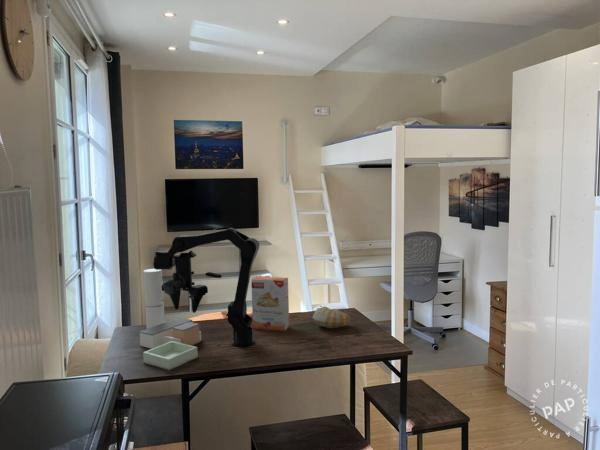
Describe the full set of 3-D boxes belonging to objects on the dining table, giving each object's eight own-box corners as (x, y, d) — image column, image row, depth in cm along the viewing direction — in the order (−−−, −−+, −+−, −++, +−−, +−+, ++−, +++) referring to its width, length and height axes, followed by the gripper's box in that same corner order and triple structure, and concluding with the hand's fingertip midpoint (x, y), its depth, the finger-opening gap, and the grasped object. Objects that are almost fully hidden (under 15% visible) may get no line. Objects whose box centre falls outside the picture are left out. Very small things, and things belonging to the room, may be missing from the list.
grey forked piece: (140, 345, 173) (139, 331, 173) (180, 330, 190) (180, 317, 190) (169, 353, 165) (169, 338, 164) (209, 336, 182) (209, 323, 181)
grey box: (199, 342, 176) (199, 323, 175) (184, 348, 169) (183, 330, 169) (189, 339, 179) (188, 321, 178) (173, 346, 172) (172, 327, 172)
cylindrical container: (167, 327, 194) (164, 268, 192) (160, 333, 187) (157, 272, 184) (151, 327, 195) (147, 268, 192) (143, 333, 188) (140, 272, 185)
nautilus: (307, 320, 202) (340, 319, 204) (316, 332, 181) (353, 332, 183) (307, 301, 202) (341, 301, 204) (316, 312, 181) (354, 312, 183)
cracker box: (252, 329, 189) (250, 278, 187) (257, 324, 195) (256, 275, 193) (284, 331, 185) (283, 280, 183) (289, 327, 191) (288, 276, 189)
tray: (197, 357, 161) (197, 347, 160) (169, 370, 150) (168, 359, 150) (172, 350, 167) (171, 340, 167) (143, 362, 157) (143, 352, 157)
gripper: (148, 271, 170) (151, 312, 171) (184, 275, 160) (187, 320, 161) (172, 266, 179) (174, 305, 181) (207, 270, 169) (209, 312, 171)
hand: (185, 310), depth 173 cm, fingers open, 9 cm apart
